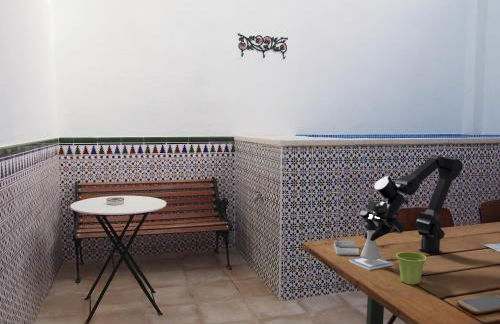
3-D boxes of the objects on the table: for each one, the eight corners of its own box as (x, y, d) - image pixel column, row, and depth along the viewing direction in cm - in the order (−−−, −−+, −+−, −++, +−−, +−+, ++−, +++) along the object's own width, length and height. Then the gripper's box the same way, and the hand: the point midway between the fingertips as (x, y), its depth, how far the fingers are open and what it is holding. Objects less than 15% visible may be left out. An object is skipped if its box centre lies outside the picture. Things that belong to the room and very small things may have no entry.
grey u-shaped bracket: (354, 246, 195) (354, 240, 194) (358, 255, 184) (358, 247, 183) (333, 246, 195) (333, 239, 195) (336, 254, 184) (337, 247, 184)
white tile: (392, 265, 171) (392, 262, 171) (368, 270, 166) (369, 267, 166) (371, 257, 181) (371, 254, 181) (348, 261, 176) (348, 259, 176)
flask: (385, 258, 172) (385, 232, 171) (370, 261, 168) (370, 234, 167) (370, 253, 178) (371, 227, 177) (356, 256, 175) (356, 230, 174)
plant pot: (425, 278, 158) (426, 253, 157) (425, 288, 149) (426, 261, 148) (396, 275, 161) (396, 250, 160) (395, 285, 152) (395, 259, 151)
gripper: (363, 189, 181) (339, 220, 177) (398, 197, 164) (373, 232, 160) (378, 207, 185) (356, 238, 181) (414, 216, 168) (390, 250, 165)
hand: (368, 239), depth 172 cm, fingers closed on flask, 3 cm apart
